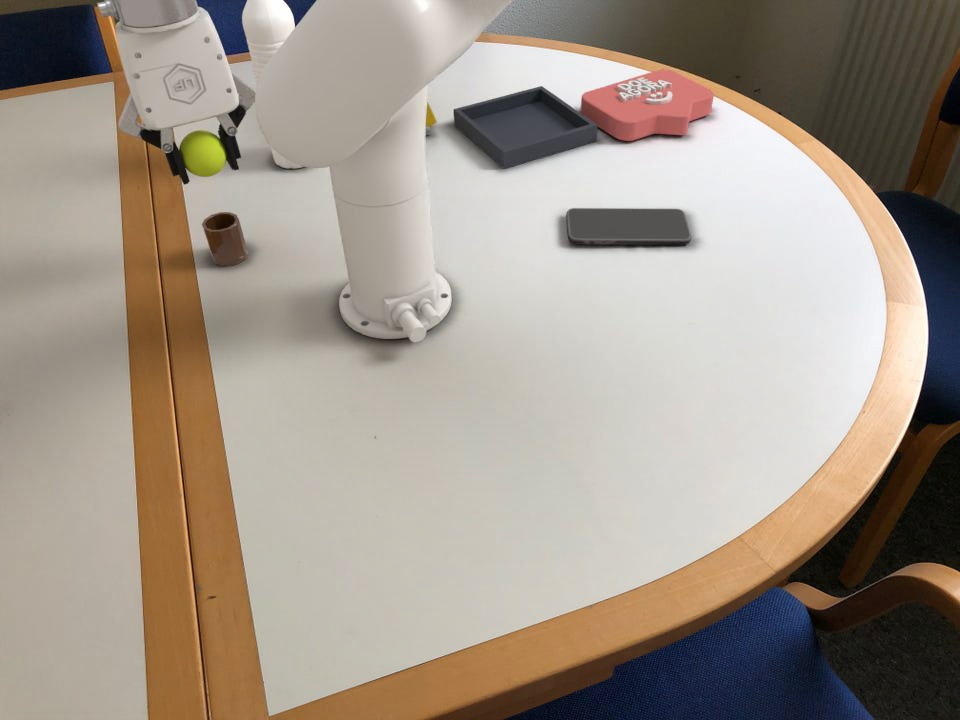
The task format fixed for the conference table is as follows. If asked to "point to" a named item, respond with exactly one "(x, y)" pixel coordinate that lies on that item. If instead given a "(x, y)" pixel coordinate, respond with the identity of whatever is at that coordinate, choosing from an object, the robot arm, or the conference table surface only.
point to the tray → (524, 126)
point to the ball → (203, 153)
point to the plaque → (647, 105)
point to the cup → (225, 238)
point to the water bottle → (267, 40)
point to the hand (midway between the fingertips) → (208, 170)
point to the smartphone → (627, 226)
